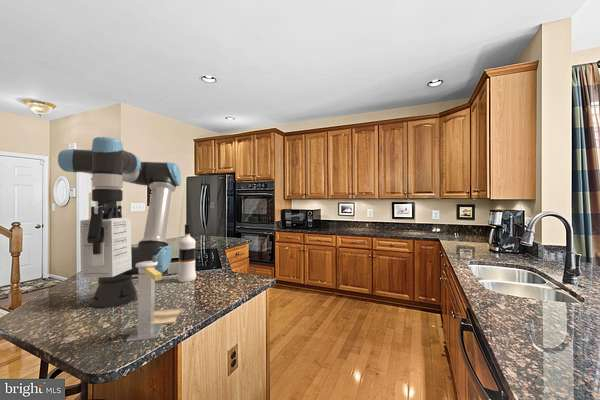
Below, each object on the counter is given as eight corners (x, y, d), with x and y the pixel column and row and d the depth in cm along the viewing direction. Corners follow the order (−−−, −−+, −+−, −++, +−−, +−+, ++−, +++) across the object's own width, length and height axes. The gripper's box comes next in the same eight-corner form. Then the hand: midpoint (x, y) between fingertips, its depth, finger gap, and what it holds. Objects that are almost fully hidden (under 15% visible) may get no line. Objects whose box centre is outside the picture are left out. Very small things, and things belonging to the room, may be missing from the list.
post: (136, 328, 83) (137, 270, 84) (163, 325, 85) (164, 268, 86) (126, 341, 75) (127, 277, 76) (156, 338, 77) (156, 275, 78)
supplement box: (132, 269, 83) (132, 217, 83) (112, 277, 74) (113, 219, 74) (102, 269, 83) (102, 217, 83) (79, 278, 74) (79, 219, 74)
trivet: (146, 312, 96) (146, 311, 96) (181, 309, 99) (181, 307, 99) (134, 327, 84) (134, 325, 84) (174, 323, 87) (174, 321, 87)
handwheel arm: (146, 283, 69) (146, 265, 69) (133, 271, 81) (133, 256, 81) (170, 278, 73) (170, 262, 73) (154, 268, 85) (154, 254, 85)
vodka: (185, 283, 131) (185, 225, 131) (173, 281, 135) (173, 224, 136) (200, 278, 139) (200, 223, 140) (188, 276, 143) (188, 223, 144)
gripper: (111, 190, 89) (110, 254, 88) (70, 186, 67) (69, 271, 67) (135, 190, 90) (135, 253, 90) (103, 186, 68) (103, 269, 68)
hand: (107, 260), depth 78 cm, fingers closed on supplement box, 10 cm apart
